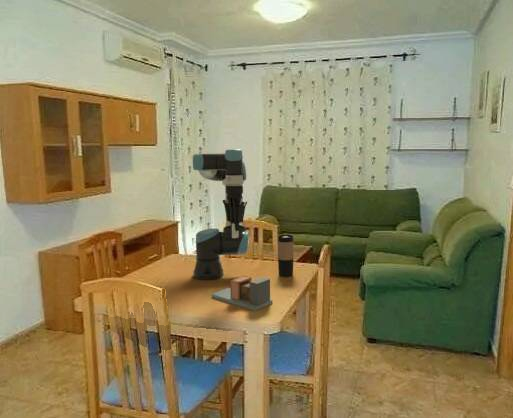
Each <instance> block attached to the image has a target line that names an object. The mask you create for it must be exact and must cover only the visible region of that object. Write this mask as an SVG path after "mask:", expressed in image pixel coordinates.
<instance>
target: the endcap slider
mask: <svg viewBox="0 0 513 418" xmlns="http://www.w3.org/2000/svg"><path fill="white" fill-rule="evenodd" d="M251 281H253V280H252V277H251V276H246V275H242V276H241V275H240V276H239V277H236V278H232V279H230V280H229V282H230V287H229V288H230V292H231V298H232V299H236V300H240V286H239V284H240V283H242V282H246V283H250V282H251Z"/></svg>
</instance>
